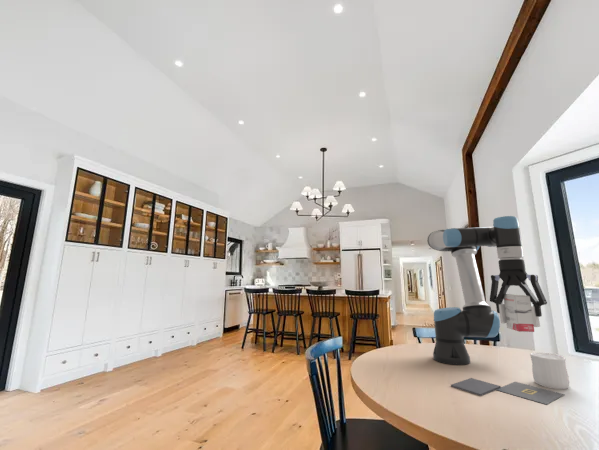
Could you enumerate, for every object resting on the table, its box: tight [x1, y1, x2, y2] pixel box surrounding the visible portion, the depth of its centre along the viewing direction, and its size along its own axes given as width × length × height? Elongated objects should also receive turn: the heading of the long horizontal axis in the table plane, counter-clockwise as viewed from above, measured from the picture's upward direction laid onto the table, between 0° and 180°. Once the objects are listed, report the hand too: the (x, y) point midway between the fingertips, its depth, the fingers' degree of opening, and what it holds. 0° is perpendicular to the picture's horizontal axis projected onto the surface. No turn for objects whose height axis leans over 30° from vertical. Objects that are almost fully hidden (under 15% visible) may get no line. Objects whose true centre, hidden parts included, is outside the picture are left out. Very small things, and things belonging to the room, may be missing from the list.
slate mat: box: [495, 381, 565, 405], centre depth 96 cm, size 14×14×1 cm
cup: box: [529, 352, 570, 390], centre depth 104 cm, size 10×10×10 cm
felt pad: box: [450, 377, 502, 397], centre depth 101 cm, size 10×13×1 cm
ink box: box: [503, 293, 535, 333], centre depth 101 cm, size 9×5×12 cm, turn 168°
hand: (519, 324), depth 100 cm, fingers closed on ink box, 9 cm apart
